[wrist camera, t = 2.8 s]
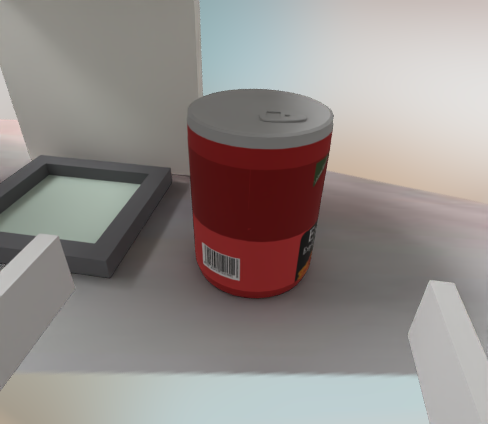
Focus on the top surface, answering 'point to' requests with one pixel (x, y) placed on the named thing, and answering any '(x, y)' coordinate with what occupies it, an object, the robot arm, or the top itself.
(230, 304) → the top surface
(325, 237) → the top surface
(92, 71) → the shelf
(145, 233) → the top surface
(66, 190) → the grey picture frame
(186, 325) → the top surface
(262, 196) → the canned food
